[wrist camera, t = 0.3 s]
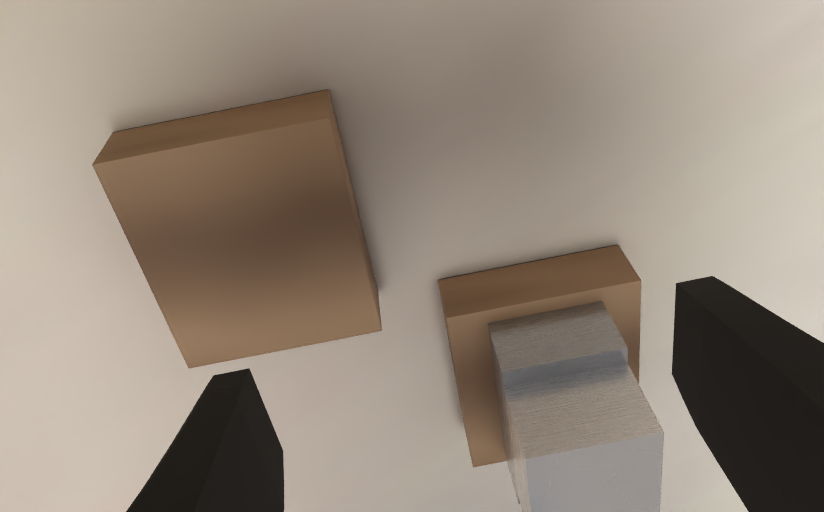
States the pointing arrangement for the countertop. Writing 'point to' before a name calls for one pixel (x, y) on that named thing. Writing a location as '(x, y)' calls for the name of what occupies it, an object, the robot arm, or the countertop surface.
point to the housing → (574, 414)
